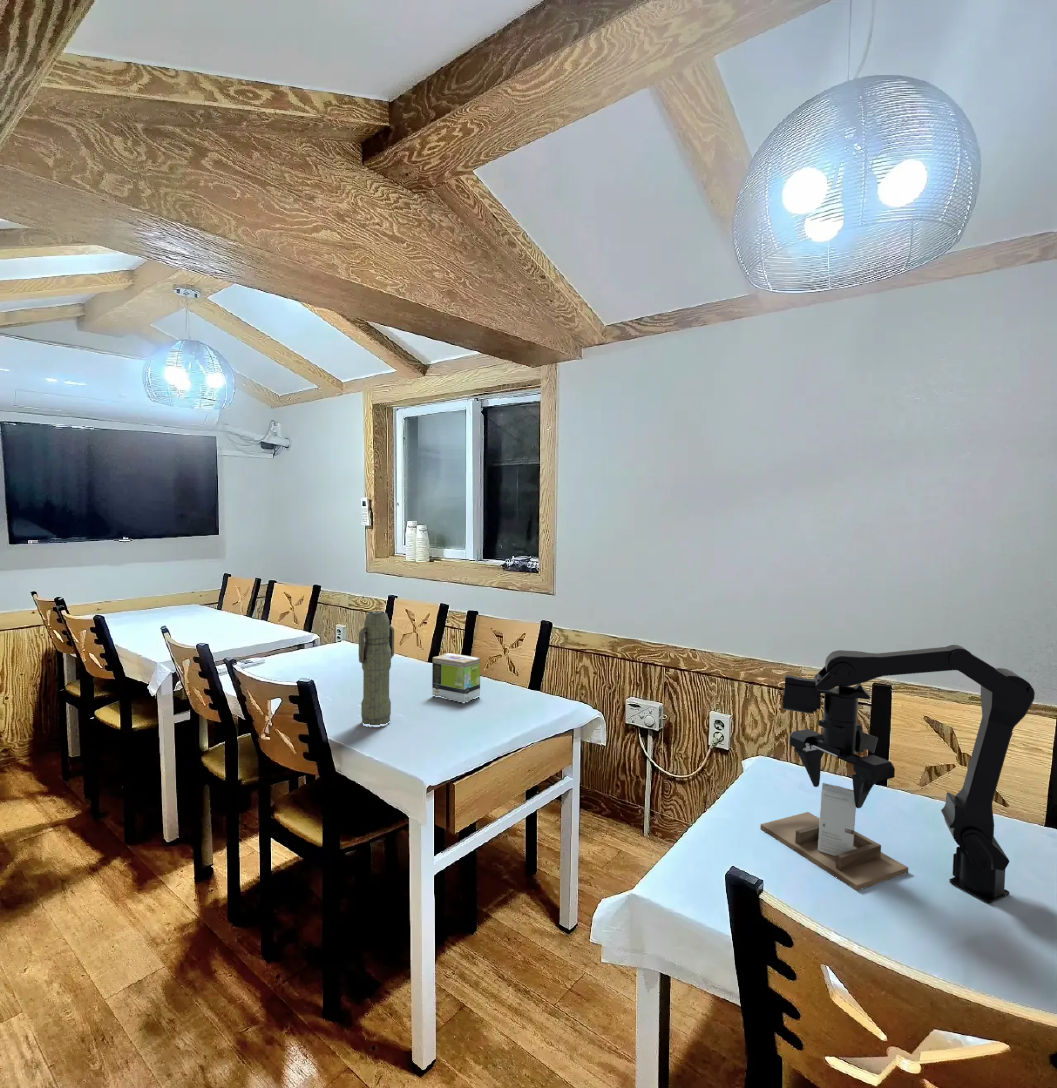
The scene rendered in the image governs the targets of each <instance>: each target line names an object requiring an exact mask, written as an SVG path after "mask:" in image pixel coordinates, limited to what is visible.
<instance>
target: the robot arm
mask: <svg viewBox="0 0 1057 1088" xmlns="http://www.w3.org/2000/svg"><path fill="white" fill-rule="evenodd" d="M824 664H825V665H824V666H823V667H822V668H821V669H820V670H819V671H818V672H817V673H816V674H815V675H814V677H813V678H806V677H805V678H804V677H799V676H794V675H789V674H786V675H785V676H784V688H783V692H782V693H783V695H782V710H783V711H790V712H796V713H797V712H798V713H803V714H804V713H805V714H811V715H813V714H814V713H815V712H817V713H818V710H821V704H822V703H821V699H822V697H821V695H822V694H823V695H824V699H823V701H824V702H823V719H819V720H818V726H819V727H822V733H820V732H817V731H815V730H813V729H809V728H806V729H805V728H804V729H800V730H795V731H791V733H790V735H789V741H788V742H789V744H788V745H789V746H790V747H792V748H793V750H794V752H795V753H796V754H797V755H798V756H799V757H798V758H799V759H800V761H801V763H802V764H803V766H804V768H805V770H806V773H807V775H808V777H809V779H810V781H811V783H812V786H813V787H814V788H819V786H820V781H821V766H822V765H821V764H822V758H823V755H824V754H827V755H830V756H832V757H835V758H837V759H840V760H841V761H844V762H846V763H849V764H850V765H853V771H854V772H855V774H852V775H851V777H852V778H851V781H852V790H853V791H854V801H855V806H856V809H861V808H863V805H864V803H865V801H866V799H867V798H868V796H869V794H870V791H872V788H873V787H874V786H875V784H876V783H877V782H883V781H885V780H890V779H893V778H895V775H896V774H895V773H896V772H895V771H896V768H895V766H894V764H893V763H892V762H891V761H890V760H887V759H886V758H883V757H881V756H877V755H876V754H874V753H875V752H876V751H875V750H876V747H877V743H878V740H879V737H878V736H874V735H872V734H869V733H867V732H864V731H863V726H862V724H861V723H858V710H859V708H858V707H859V699H861V700H867V701H868V700H870V699H871V696H870V694H869V691H867V690H866V689H865V688H864V687H863V685H862V684H863V683H867V682H870V681H872V680H875V679H878V678H882V677H887V676H899V675H901V676H903V675H912V674H913V675H914V674H924V673H936V672H937V673H938V672H947V671H948V672H950V671H958V672H959V673H961V674H963V675H964V676H966V677H967V678H969V679H970V680H972V681H974V682H976V684H978V685H980V705H981V719H980V723H979V727H978V731H977V735H976V738H975V741H974V745H973V748H972V753H971V756H970V760H969V764H968V766H967V770H966V775H965V778H964V782H963V785H962V788H961V789H960V791H958V793H956V794H953V793H951V792H946V794H945V795H946V796H945V804H944V806H943V807H942V809H940V812H941V814H942V815H943V817H944V822H945V824H946V826H947V828H948V830H949V832H950V834H951V836H952V838H953V840H954V841H955V842H956V844H957V845H958V846H956V851H955V853H953V855H952V856H953V857H952V876H953V877H952V878H949V881H948V882H949V883H950V884H952V885H954V886H956V887H957V888H958V889H961V890H963V891H964V892H967V893H968V894H969V895H972V896H974V897H976V898H978V899H979V900H981V901H983V902H985V903H988V904H991V903H994V902H996V901H998V900H1001V899H1003V898H1006V897H1008V896H1010V895H1011V894H1010V891H1009V890H1007V889H1006V888H1005V884H1006V883H1005V881H1006V869H1007V867H1008V865H1010V864H1009V863H1010V859H1009V858H1008V856H1007V854H1006V853H1005V851H1004V850H1003V848H1002V847H1001V845H1000V843H999V842H998V840H997V839H996V838H995V822H994V811H993V802H994V798H995V794H996V791H997V787H998V785H999V780H1000V776H1001V775H1002V773H1001V772H1002V770H1003V767H1004V763H1005V760H1006V756H1007V751H1008V749H1009V746H1010V745H1009V744H1010V741H1011V737H1012V734H1013V731H1014V729H1015V727H1016V726H1017V725H1018V724H1019V723H1020V722H1021V721H1022V720H1023V719H1024V718H1025V716H1026V715H1027V713H1028V712H1029V709H1030V708H1031V706H1032V704H1033V702H1034V700H1035V693H1036V692H1035V689H1034V688H1033V686H1032V685H1031V684H1030V682H1029V681H1027V679H1025V678H1023V677H1021V676H1020V675H1018V674H1017V673H1016V672H1014V671H1013V670H1009V669H1008V668H1002V667H997V668H995V667H994V666H993V665H990V664H989V663H987V662H985V660H982V659H981V658H979V657H978V656H976V655H975V654H972V653H971V651H969V650H968V649H966V648H965V647H963V646H961V645H959V644H950V645H947V646H941V647H939V646H938V647H932V648H931V647H930V648H921V649H920V648H919V649H911V650H900V651H898V650H897V651H890V652H889V651H888V652H877V653H876V652H866V651H859V650H839V649H838V650H834V651H832V652H830V653H829V654H828V655H827V656H826V659H825V661H824ZM865 750H867V751H868V752H870V753H872V754H871V755H866V756H861V755H858V754H856V753H864V752H865Z"/></svg>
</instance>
